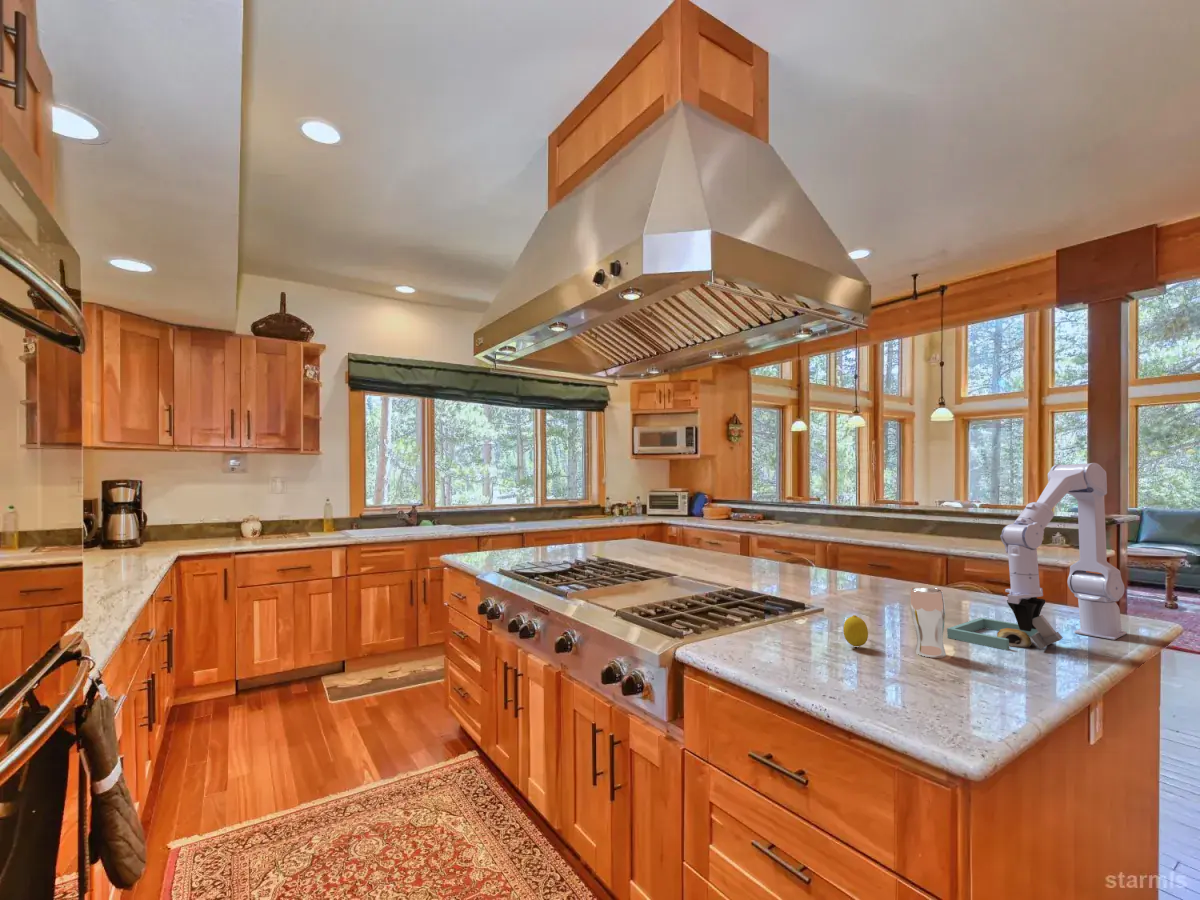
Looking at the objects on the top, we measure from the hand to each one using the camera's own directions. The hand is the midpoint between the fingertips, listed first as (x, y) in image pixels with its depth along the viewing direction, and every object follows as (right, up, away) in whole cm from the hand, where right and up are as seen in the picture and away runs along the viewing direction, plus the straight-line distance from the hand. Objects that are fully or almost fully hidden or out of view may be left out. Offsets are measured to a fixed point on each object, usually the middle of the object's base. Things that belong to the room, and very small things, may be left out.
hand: (1028, 629), depth 134 cm
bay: (-4, -4, +6) cm, 8 cm away
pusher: (+3, -2, -4) cm, 5 cm away
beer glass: (-27, -4, -6) cm, 28 cm away
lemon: (-42, -5, +1) cm, 42 cm away
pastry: (-3, -4, +2) cm, 5 cm away
